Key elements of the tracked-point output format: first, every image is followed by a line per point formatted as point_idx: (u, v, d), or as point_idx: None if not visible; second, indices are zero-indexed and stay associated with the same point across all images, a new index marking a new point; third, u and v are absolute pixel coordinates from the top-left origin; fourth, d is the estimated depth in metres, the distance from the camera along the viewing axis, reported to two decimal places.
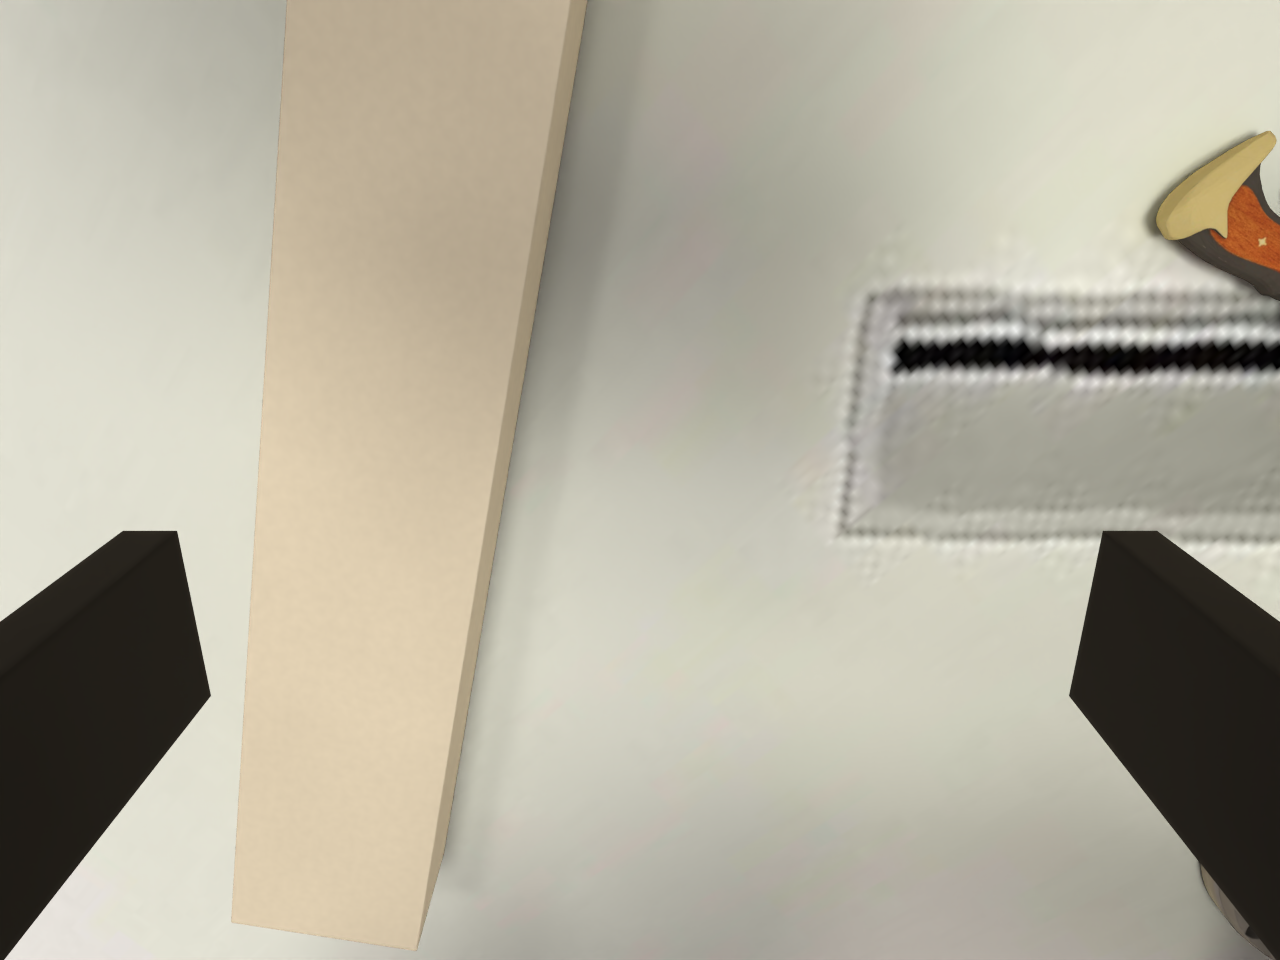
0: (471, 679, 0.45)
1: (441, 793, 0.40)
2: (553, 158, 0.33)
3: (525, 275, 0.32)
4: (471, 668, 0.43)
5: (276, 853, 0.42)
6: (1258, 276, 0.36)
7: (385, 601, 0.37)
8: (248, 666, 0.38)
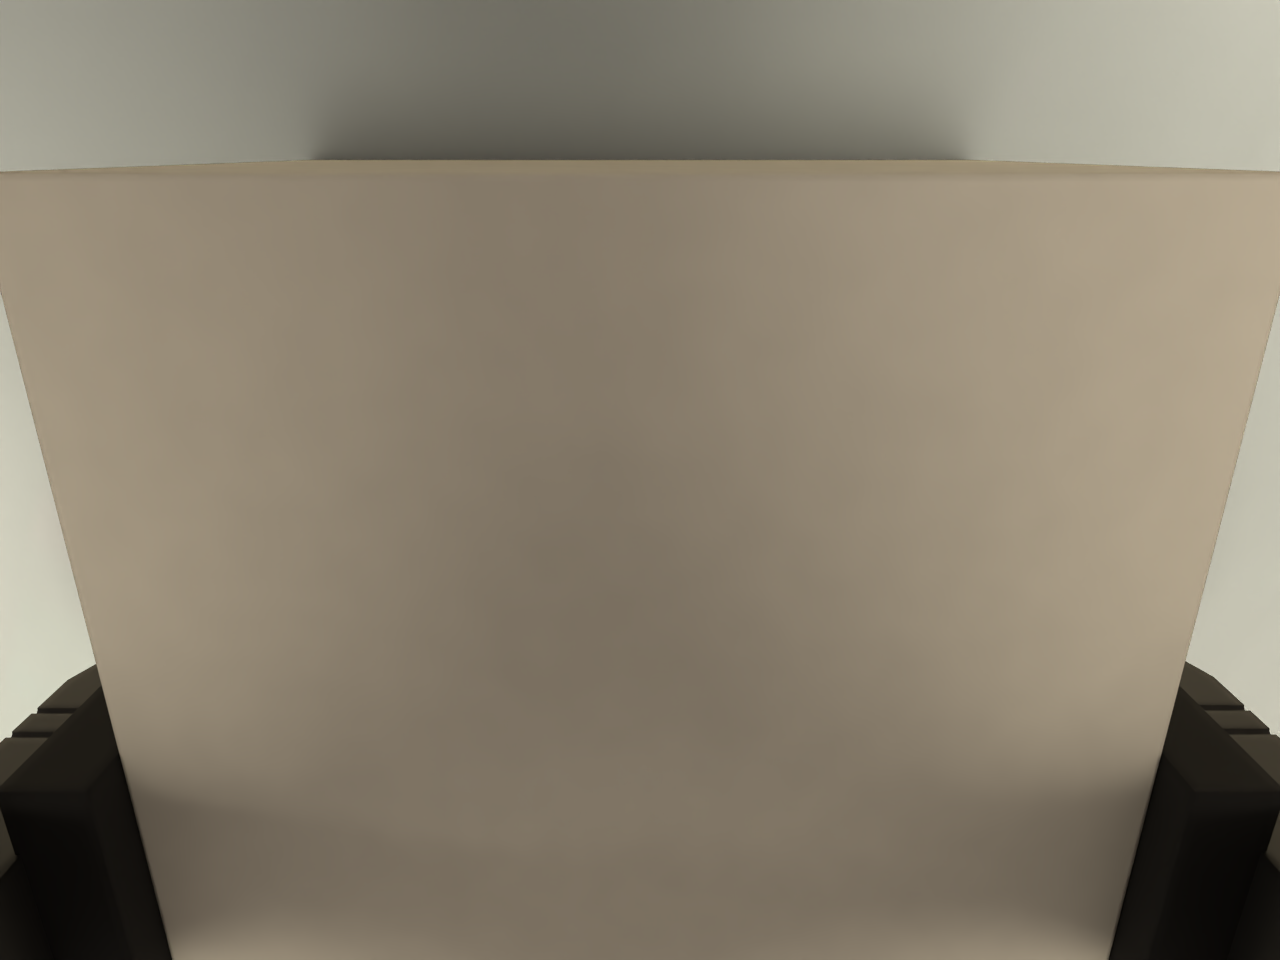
0: None
1: None
2: None
3: None
4: None
5: None
6: None
7: None
8: None
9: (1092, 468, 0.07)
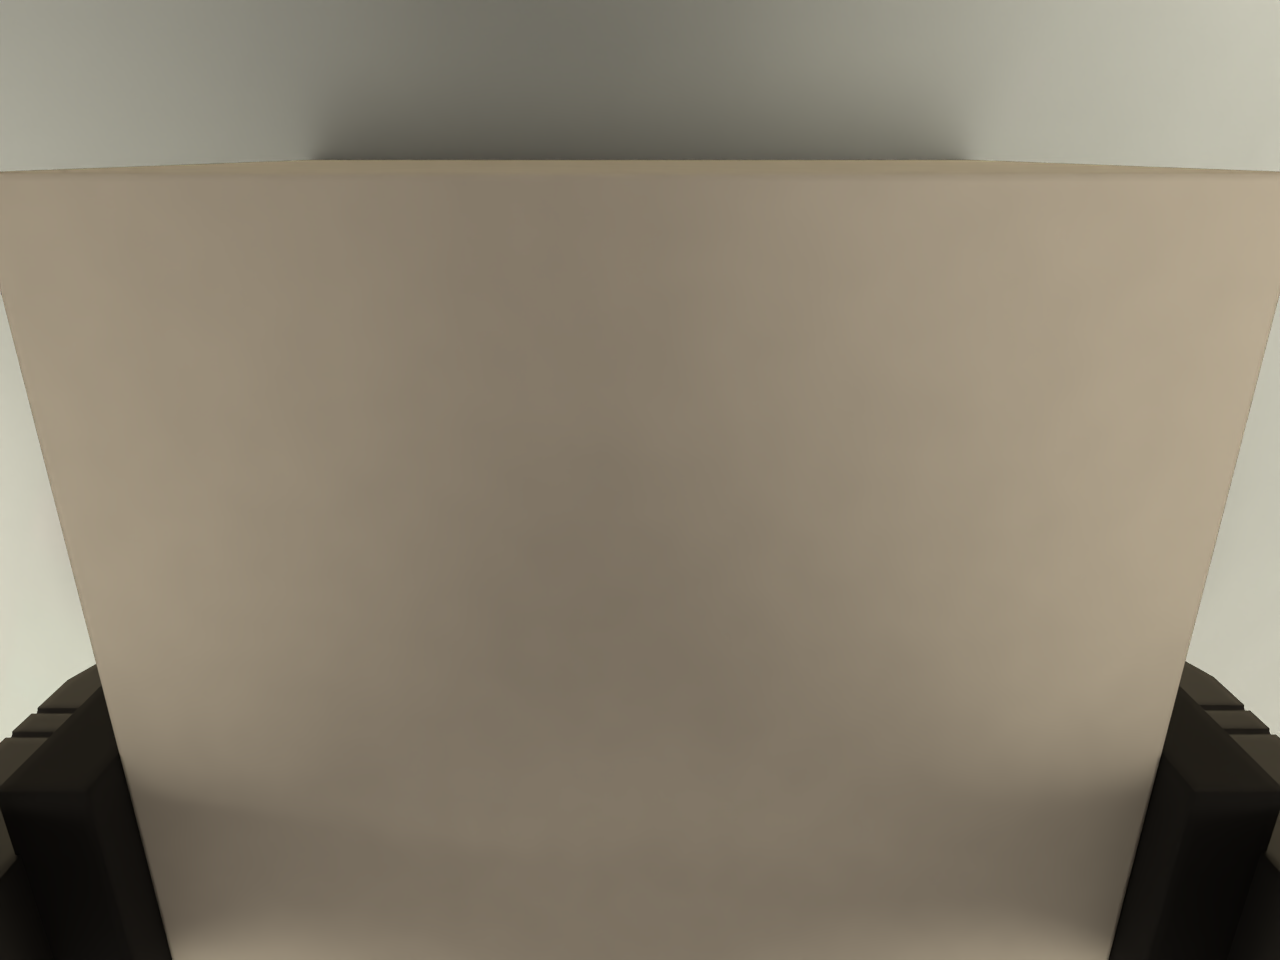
0: None
1: None
2: None
3: None
4: None
5: None
6: None
7: None
8: None
9: (1092, 468, 0.07)
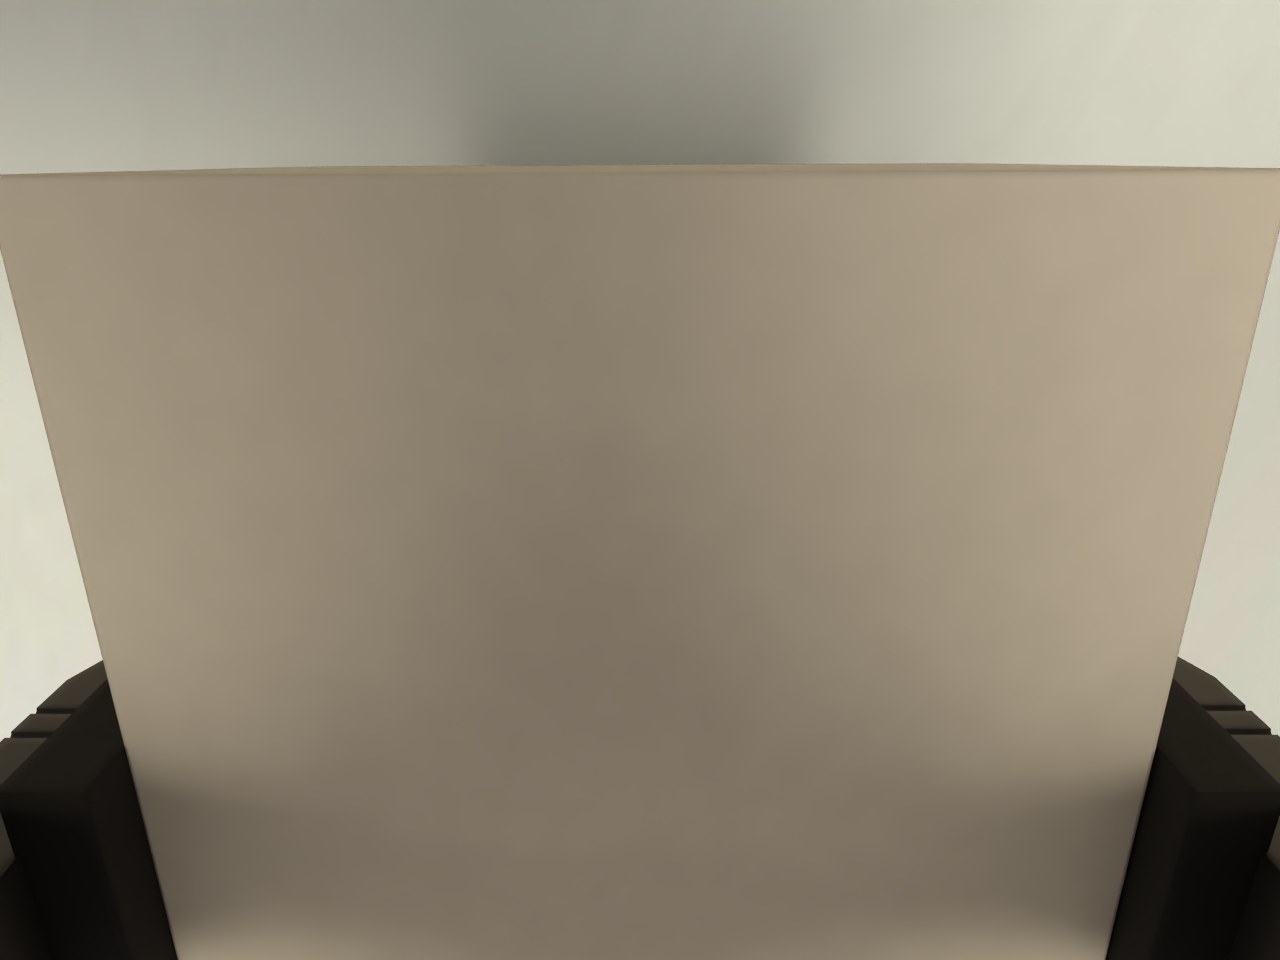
0: None
1: None
2: None
3: None
4: None
5: None
6: None
7: None
8: None
9: (1084, 461, 0.07)
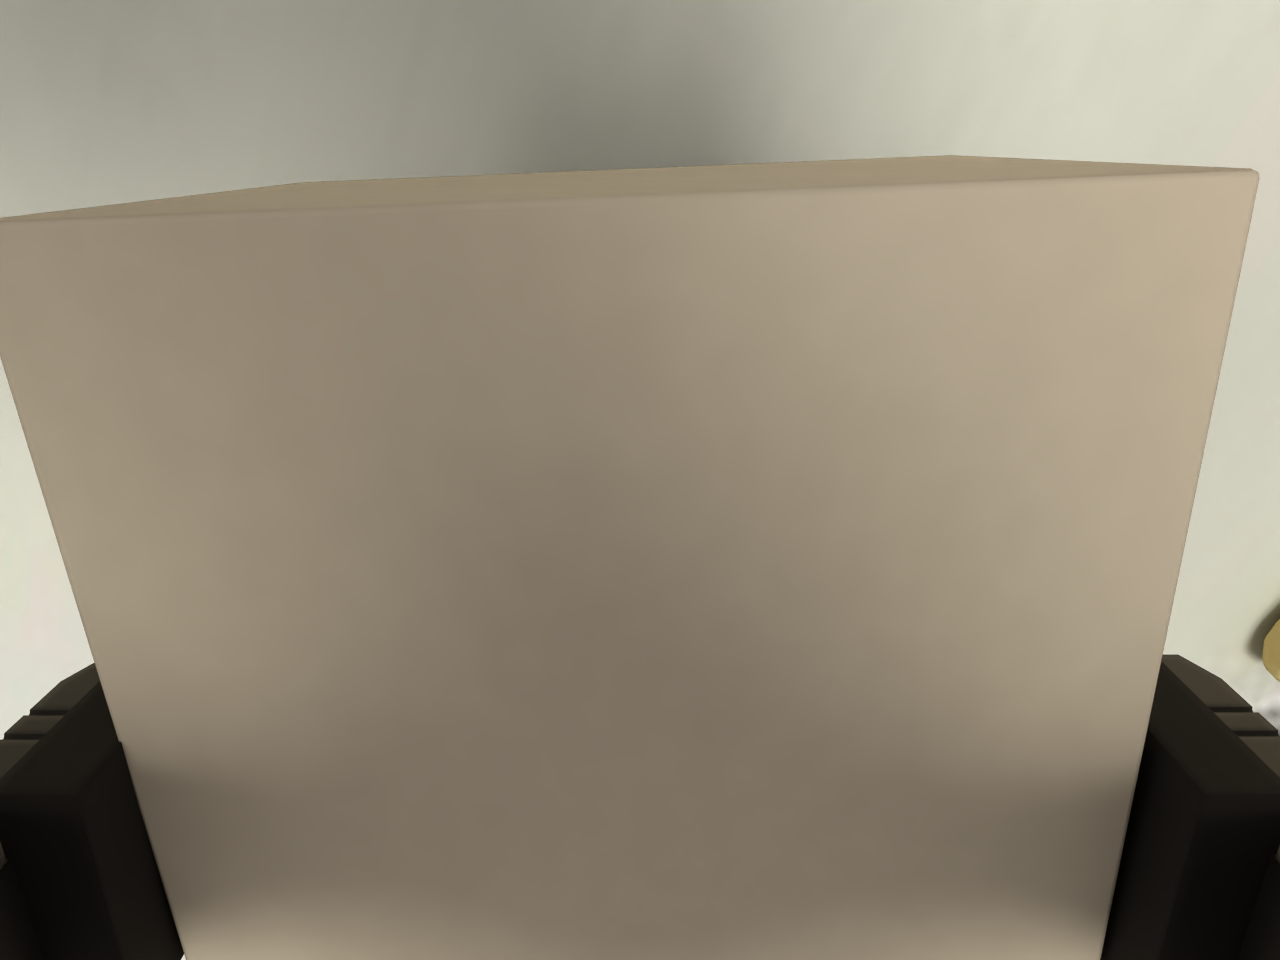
0: None
1: None
2: None
3: None
4: None
5: None
6: None
7: None
8: None
9: (1060, 465, 0.07)
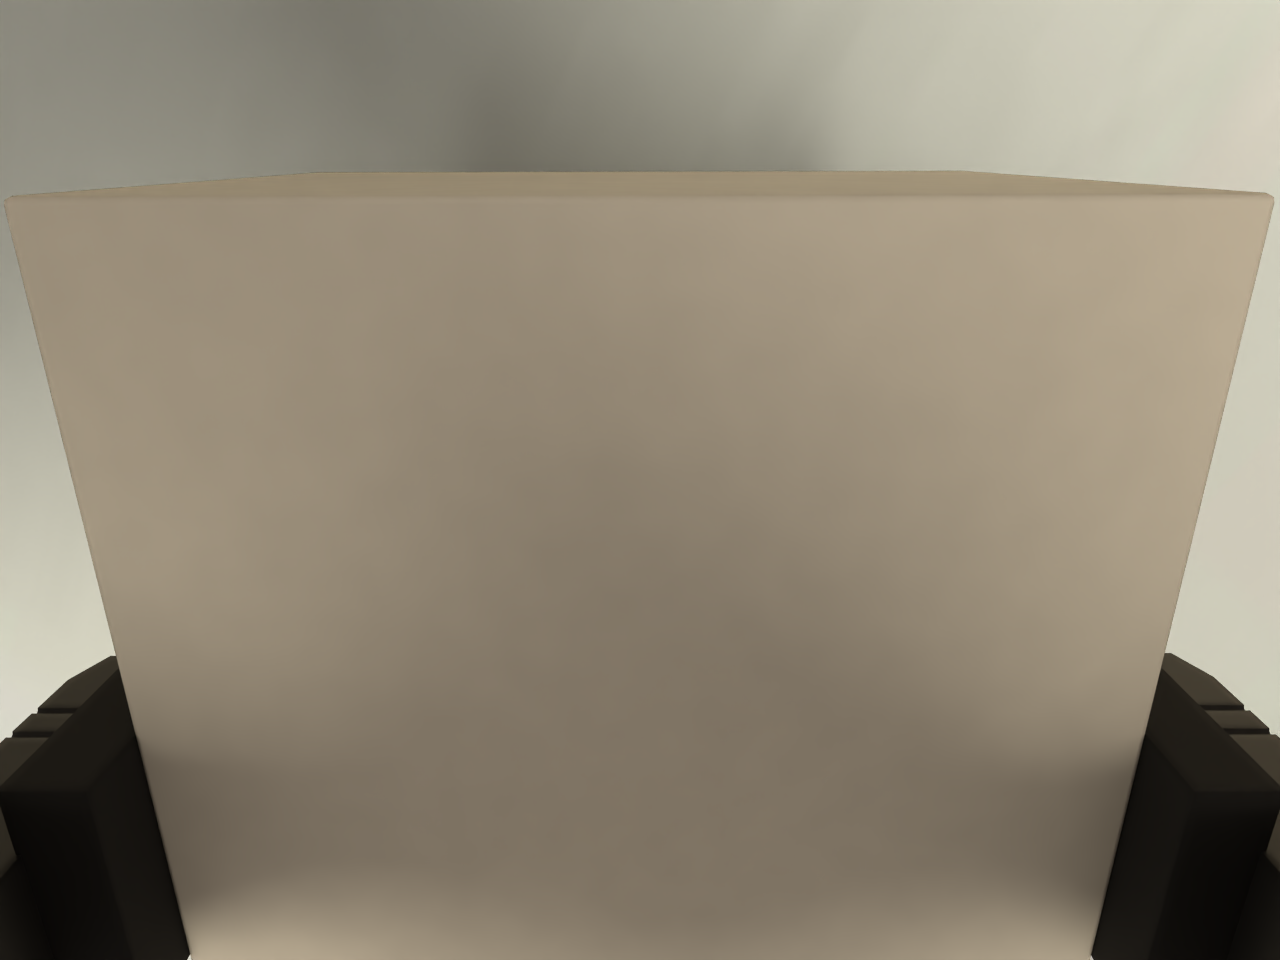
0: None
1: None
2: None
3: None
4: None
5: None
6: None
7: None
8: None
9: (1073, 475, 0.07)
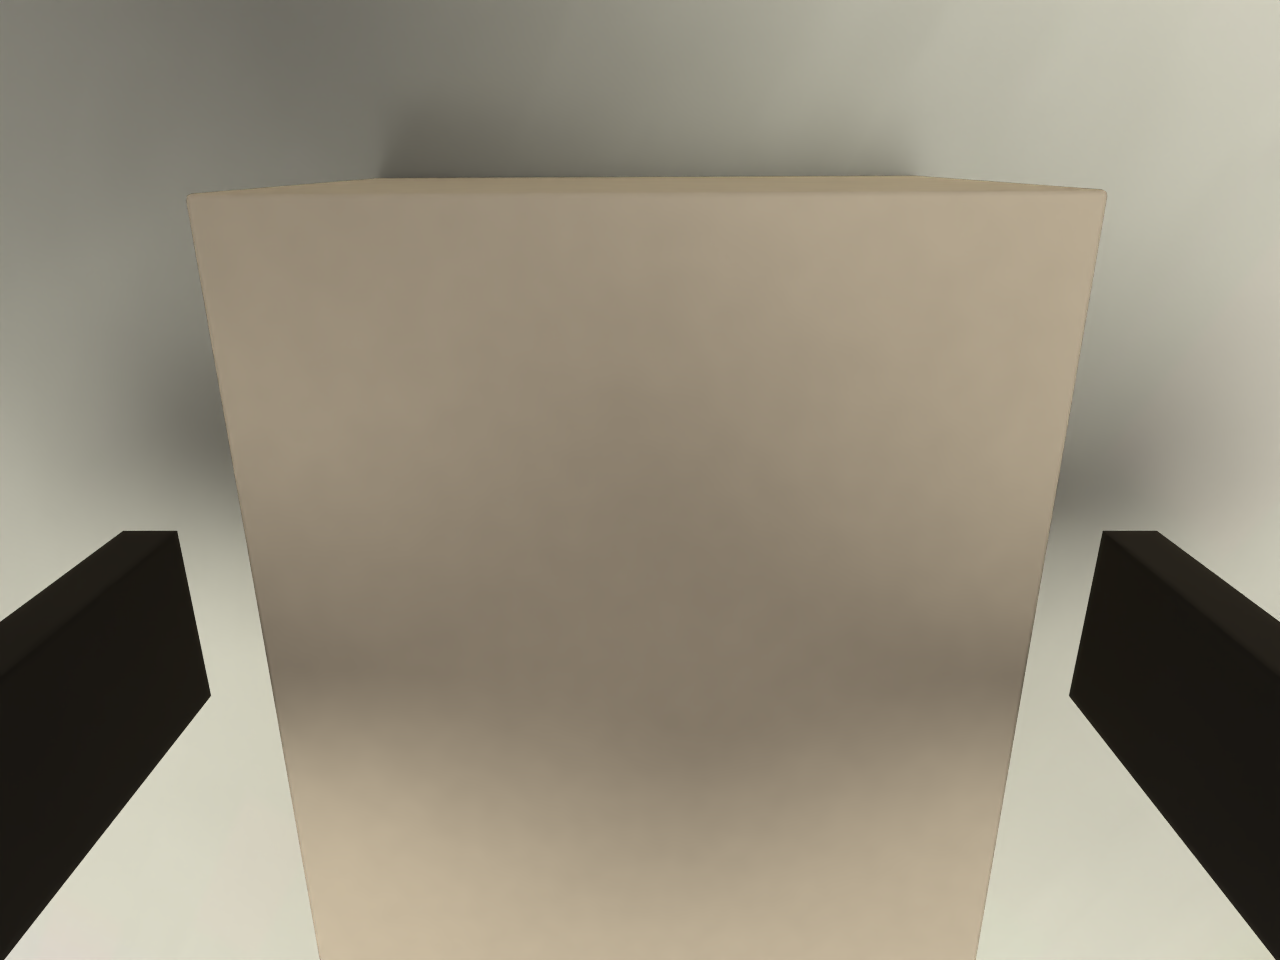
0: None
1: None
2: None
3: None
4: None
5: None
6: None
7: None
8: None
9: (969, 400, 0.09)
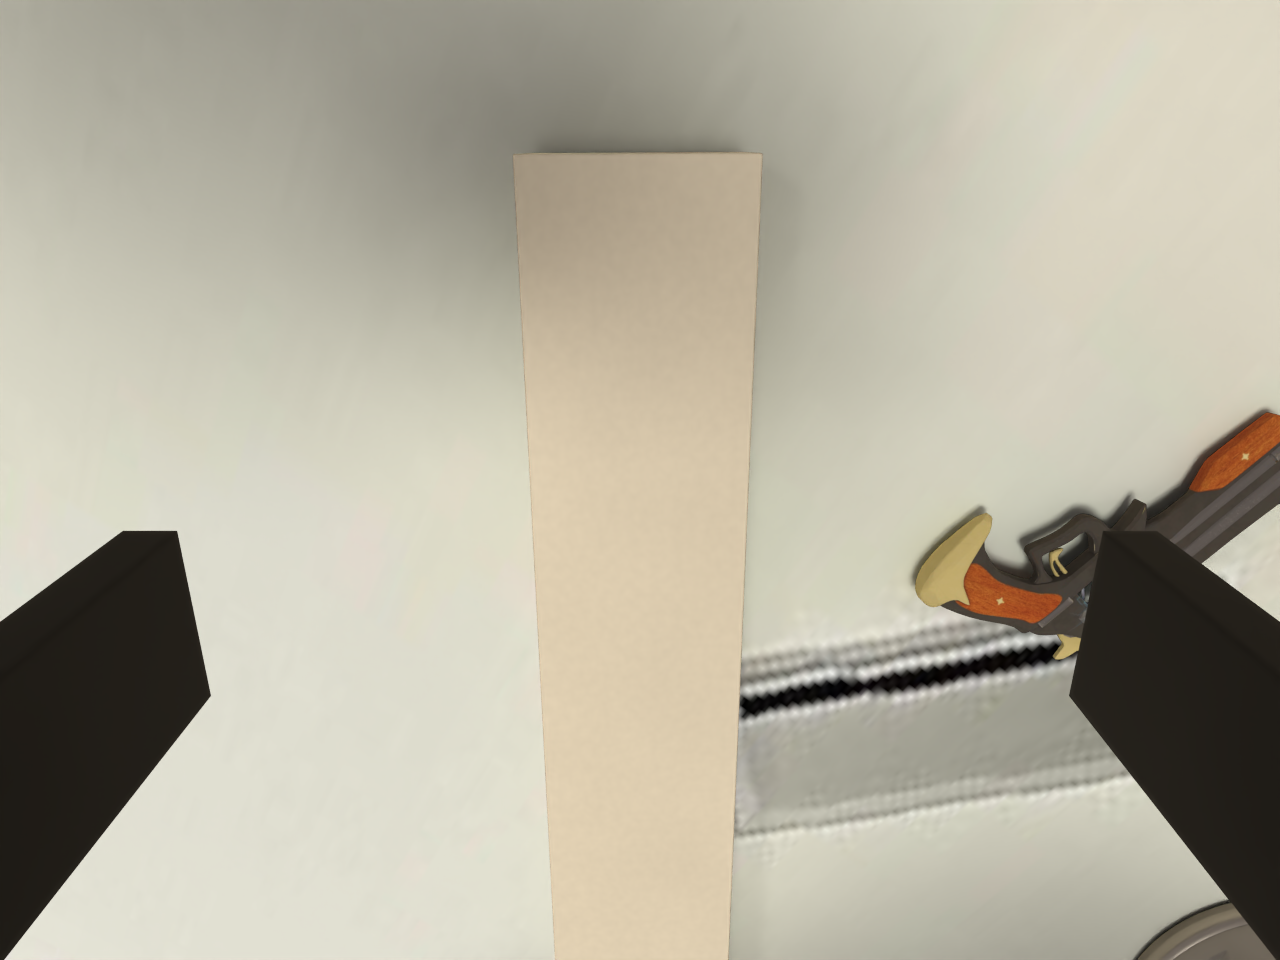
0: None
1: None
2: None
3: (739, 678, 0.40)
4: None
5: None
6: (1005, 623, 0.44)
7: (660, 917, 0.45)
8: None
9: (730, 213, 0.33)
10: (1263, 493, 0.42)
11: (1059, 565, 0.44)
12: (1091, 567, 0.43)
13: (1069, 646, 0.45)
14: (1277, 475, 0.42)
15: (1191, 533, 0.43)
